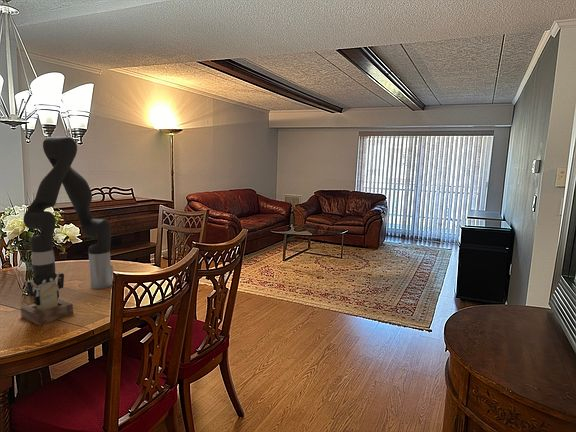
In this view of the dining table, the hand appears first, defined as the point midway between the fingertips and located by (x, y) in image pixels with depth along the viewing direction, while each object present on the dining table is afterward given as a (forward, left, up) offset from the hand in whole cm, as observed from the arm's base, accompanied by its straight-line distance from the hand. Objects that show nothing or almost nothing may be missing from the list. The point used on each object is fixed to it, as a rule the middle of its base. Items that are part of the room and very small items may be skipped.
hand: (46, 302), depth 152 cm
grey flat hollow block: (0, 0, -6) cm, 6 cm away
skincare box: (0, 0, -4) cm, 4 cm away
